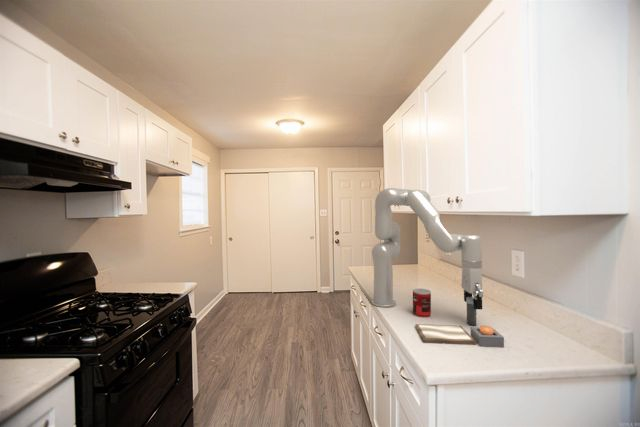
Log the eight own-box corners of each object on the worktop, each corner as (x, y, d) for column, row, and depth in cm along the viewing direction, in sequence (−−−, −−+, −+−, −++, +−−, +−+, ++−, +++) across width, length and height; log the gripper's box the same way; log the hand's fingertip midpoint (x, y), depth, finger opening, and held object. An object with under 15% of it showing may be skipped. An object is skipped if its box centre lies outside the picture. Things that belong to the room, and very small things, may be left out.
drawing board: (415, 327, 118) (415, 323, 118) (461, 328, 116) (461, 325, 116) (423, 342, 104) (423, 338, 104) (475, 344, 102) (475, 340, 102)
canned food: (414, 310, 138) (414, 287, 138) (432, 313, 134) (432, 289, 134) (411, 315, 131) (410, 291, 131) (429, 318, 127) (429, 294, 127)
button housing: (470, 336, 109) (470, 327, 109) (492, 337, 108) (492, 327, 108) (479, 346, 101) (479, 336, 101) (503, 347, 100) (503, 337, 100)
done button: (477, 333, 107) (477, 325, 107) (490, 333, 107) (490, 325, 107) (482, 338, 103) (482, 330, 103) (495, 339, 102) (495, 330, 102)
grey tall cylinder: (465, 322, 123) (464, 296, 122) (474, 322, 122) (474, 297, 122) (468, 325, 119) (468, 299, 119) (478, 326, 118) (478, 299, 118)
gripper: (455, 261, 129) (456, 299, 129) (470, 268, 112) (471, 312, 112) (472, 261, 128) (473, 299, 128) (491, 268, 111) (492, 312, 111)
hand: (472, 305), depth 120 cm, fingers open, 9 cm apart
